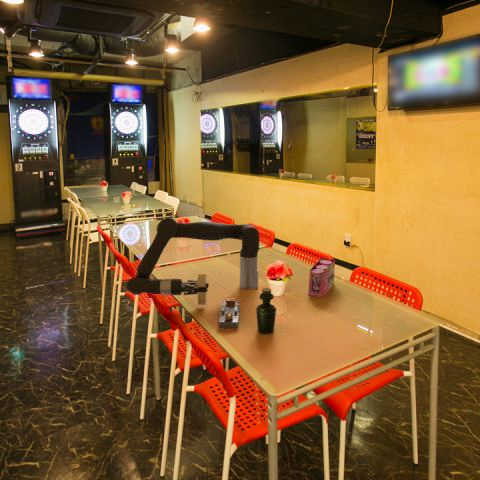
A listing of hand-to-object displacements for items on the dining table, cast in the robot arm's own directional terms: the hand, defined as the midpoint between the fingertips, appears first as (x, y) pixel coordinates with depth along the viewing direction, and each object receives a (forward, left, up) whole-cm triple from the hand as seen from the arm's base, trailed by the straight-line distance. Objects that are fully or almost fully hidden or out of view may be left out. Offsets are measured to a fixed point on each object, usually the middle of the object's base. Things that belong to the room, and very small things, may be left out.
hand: (207, 287), depth 192 cm
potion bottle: (-22, +28, -10) cm, 36 cm away
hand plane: (-9, +13, -10) cm, 18 cm away
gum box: (-61, -15, -10) cm, 63 cm away
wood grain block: (+3, 0, -7) cm, 8 cm away
